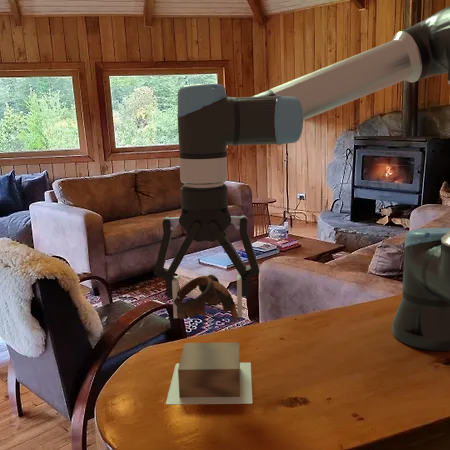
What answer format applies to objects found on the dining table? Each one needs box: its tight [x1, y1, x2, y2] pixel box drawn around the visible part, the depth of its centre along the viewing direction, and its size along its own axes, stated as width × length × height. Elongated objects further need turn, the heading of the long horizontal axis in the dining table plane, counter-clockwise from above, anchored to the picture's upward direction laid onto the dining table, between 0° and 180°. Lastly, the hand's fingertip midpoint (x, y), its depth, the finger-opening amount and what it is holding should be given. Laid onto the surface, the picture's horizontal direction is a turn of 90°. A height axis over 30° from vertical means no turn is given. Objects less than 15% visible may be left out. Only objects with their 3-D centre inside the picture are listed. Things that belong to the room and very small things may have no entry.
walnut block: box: [178, 342, 241, 397], centre depth 91 cm, size 10×10×5 cm
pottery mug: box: [174, 274, 239, 323], centre depth 88 cm, size 12×10×8 cm
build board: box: [165, 362, 253, 405], centre depth 91 cm, size 14×14×2 cm
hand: (208, 314), depth 88 cm, fingers closed on pottery mug, 10 cm apart
